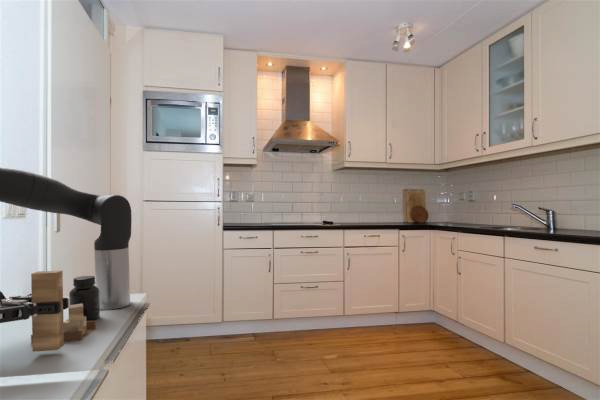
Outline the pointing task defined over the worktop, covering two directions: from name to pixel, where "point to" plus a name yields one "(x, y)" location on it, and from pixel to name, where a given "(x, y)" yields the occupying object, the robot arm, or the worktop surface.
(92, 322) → the walnut rack
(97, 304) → the supplement bottle
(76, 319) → the small pine offcut
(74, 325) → the pine offcut
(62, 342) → the oak board
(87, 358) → the worktop surface
